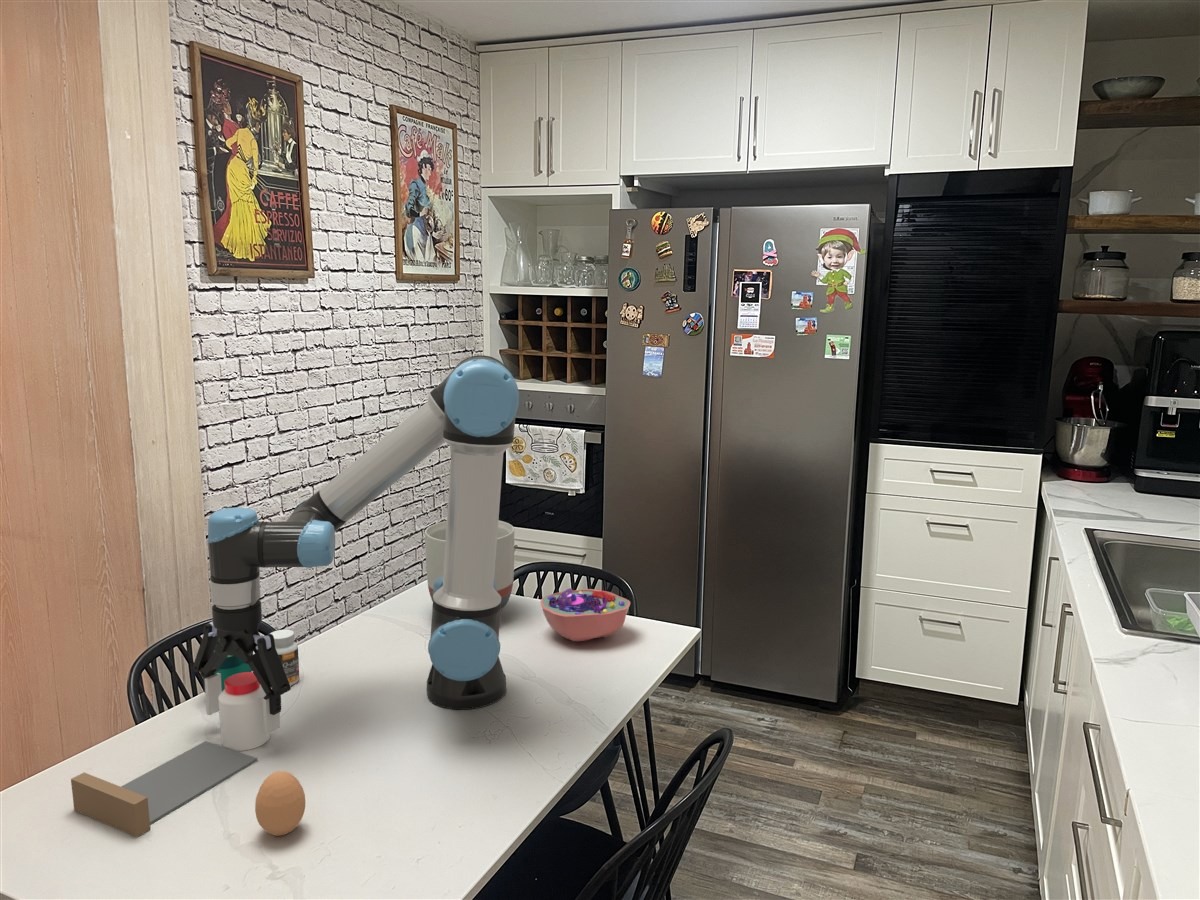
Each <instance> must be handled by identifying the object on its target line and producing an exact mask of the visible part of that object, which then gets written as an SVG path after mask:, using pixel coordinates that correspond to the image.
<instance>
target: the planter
mask: <svg viewBox="0 0 1200 900" xmlns="http://www.w3.org/2000/svg"><path fill="white" fill-rule="evenodd" d="M514 527H515V526H513V525H512V524H510V523H509V522H506V521H503V520H500V519H498V532H497V546H496V559H495V573H494V579H495V582H496V588H497V592H498V593H499V595H500V596H501V610H500V612H501V611H502V610H503V609H504V607H506V605H507V603H508V602H509V600H510V597H511V595H512V590H513V587H514V575H515V573H514V572H515V528H514ZM446 528H447V520H446V521H445V520H443V521H441V522H437V523H434V524H432V525H429V526H428V527H426V529H425V531H424V541H425V542H424V544H425V546H424V547H425V549H424V550H425V565H426V567H425V569H426V581H427V587H428V593H429V596H430V600H431V601H432V602H433V595H434V594H433V593H432V591H433V586H434V582H435V580H436V579H437V578H439V577H441V576H443V575H444V559H445V544H446Z"/></svg>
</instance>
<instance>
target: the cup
mask: <svg viewBox="0 0 1200 900" xmlns="http://www.w3.org/2000/svg"><path fill="white" fill-rule="evenodd" d="M219 641H220V639H218V642H217V645H218V644H219ZM217 645H216V646H217ZM215 648H216V647H215ZM214 652H215V650H214ZM251 655H252V654H251ZM251 655H249V656H251ZM218 670H219V671H217V672H215V674H216V673H220V674H221V687H222V691H223V690H224V689H225V683H224V682H225V680H226V679H227V678H228V677H230V676H232V675H234V674H238V673H243V672H252V670H251V668H250V666H249V665H248V664H246V663H244V662H243V660H242V658H238V657H236V656H230V655H228V656H227V657H226V659H225V660H224V662H223V663H222V664H221V666H220V667H219V669H218ZM252 673H253V672H252Z"/></svg>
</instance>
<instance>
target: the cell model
mask: <svg viewBox="0 0 1200 900" xmlns="http://www.w3.org/2000/svg"><path fill="white" fill-rule="evenodd" d="M630 605H631V601H630V600H629V599H627V598H625V597H622V596H619V595H617V594H615V593H614V592H611V591H606V590H599V589H594V588H593V589H592V588H583V589H575V590H573V588H572V587H569V588H566V589H564V590H563V591H560V592H555V593H551V594H548V595H545V596H543V597H542V598H541V599H540V607H541V609H542V610H541V611H542V613H543V615H544V617H545V619H546V622H547V624H548V625H549V627H551V628H552V631H554V632H555V634H558V635H559V636H562V637H563V638H565V639H567V640H568V641H572V642H585V641H590V640H594V639H597V638H608V637H610V636H612V635H613V634H615V633H617V632H619V630H620V629H621V628H623V625H624V623H625V621H626V617H627V614H628V611H629V609H630Z"/></svg>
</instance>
